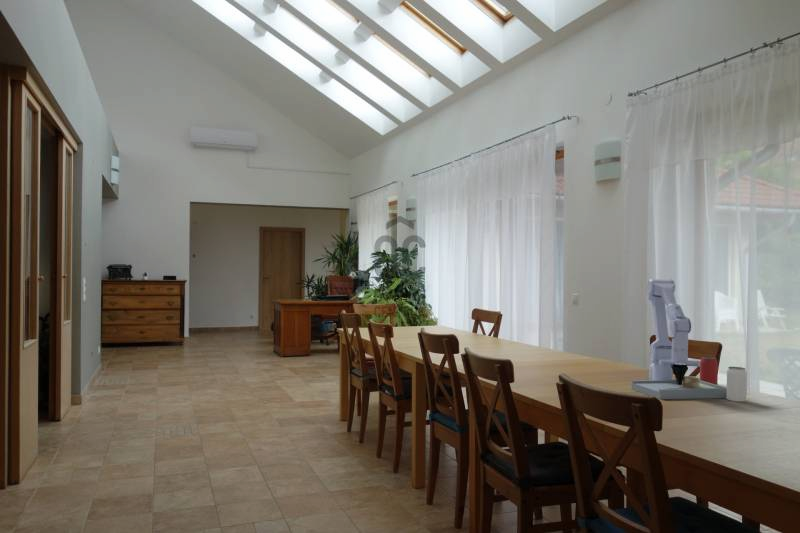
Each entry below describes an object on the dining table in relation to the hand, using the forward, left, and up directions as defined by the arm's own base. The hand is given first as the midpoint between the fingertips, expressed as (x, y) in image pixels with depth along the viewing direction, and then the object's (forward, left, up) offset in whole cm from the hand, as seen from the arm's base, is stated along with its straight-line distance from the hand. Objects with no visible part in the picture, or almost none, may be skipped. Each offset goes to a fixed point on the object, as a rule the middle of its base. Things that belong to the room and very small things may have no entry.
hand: (679, 384), depth 240 cm
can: (+14, +14, -4) cm, 20 cm away
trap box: (0, 0, -3) cm, 3 cm away
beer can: (-12, +22, -4) cm, 25 cm away
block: (+1, +4, -1) cm, 4 cm away
